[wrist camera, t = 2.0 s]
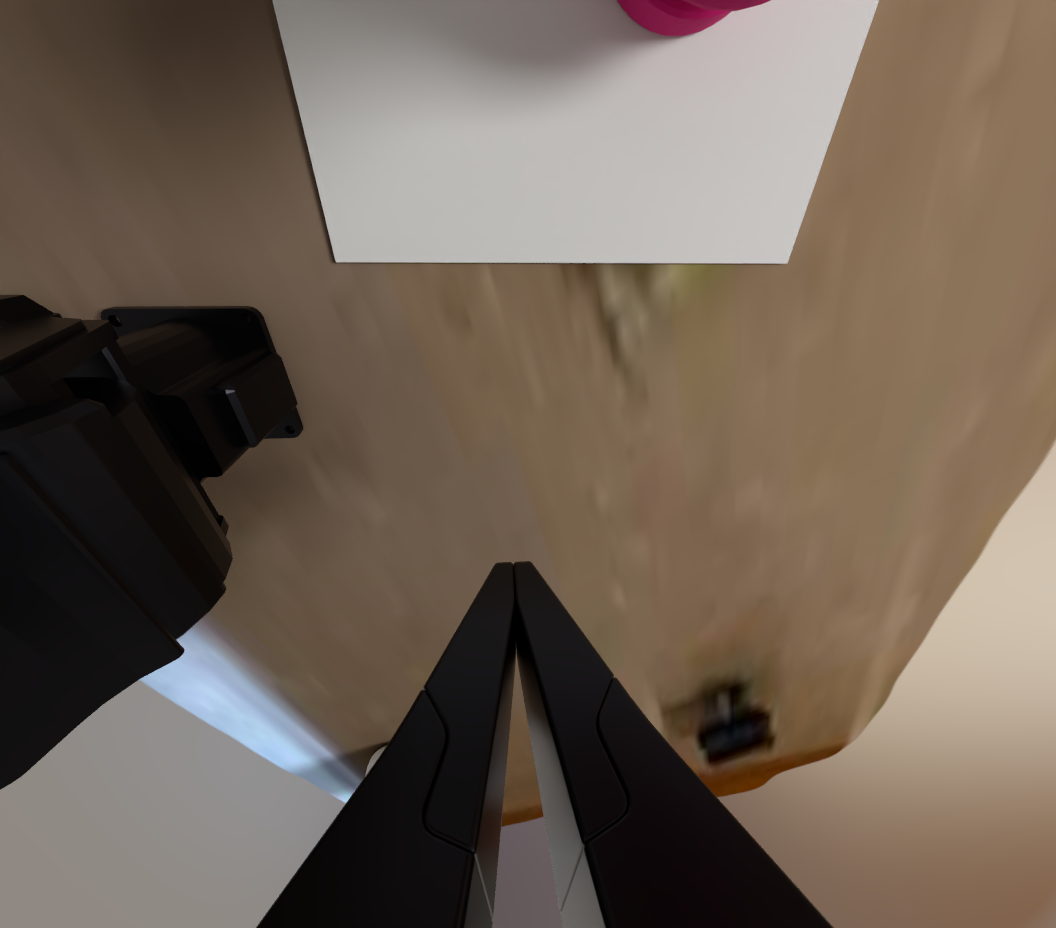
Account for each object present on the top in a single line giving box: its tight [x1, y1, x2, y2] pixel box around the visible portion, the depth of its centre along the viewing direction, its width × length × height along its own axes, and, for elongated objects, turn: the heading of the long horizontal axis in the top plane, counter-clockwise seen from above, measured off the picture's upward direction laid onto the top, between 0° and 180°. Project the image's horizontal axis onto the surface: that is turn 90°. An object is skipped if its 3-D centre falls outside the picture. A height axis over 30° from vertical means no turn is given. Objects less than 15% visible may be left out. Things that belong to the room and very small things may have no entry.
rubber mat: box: [272, 0, 879, 264], centre depth 13 cm, size 20×15×1 cm
